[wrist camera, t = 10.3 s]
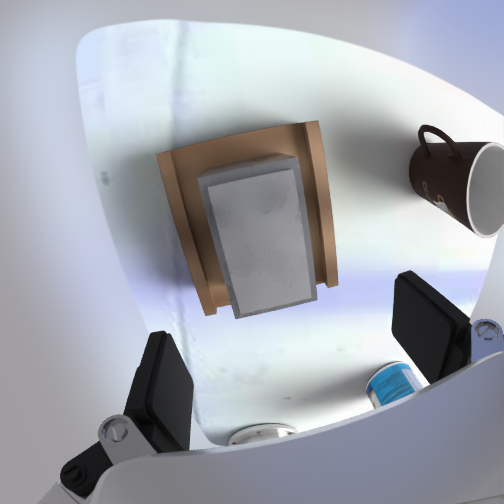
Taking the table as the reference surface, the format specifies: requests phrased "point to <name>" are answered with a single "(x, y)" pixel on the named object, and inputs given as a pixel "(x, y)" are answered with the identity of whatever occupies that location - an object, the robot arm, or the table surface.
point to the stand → (234, 150)
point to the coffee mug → (461, 180)
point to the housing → (260, 232)
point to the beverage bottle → (392, 384)
